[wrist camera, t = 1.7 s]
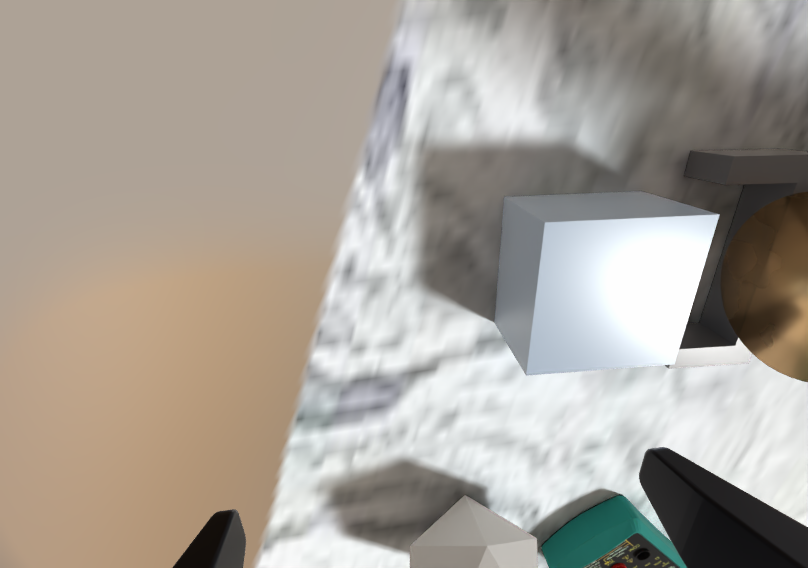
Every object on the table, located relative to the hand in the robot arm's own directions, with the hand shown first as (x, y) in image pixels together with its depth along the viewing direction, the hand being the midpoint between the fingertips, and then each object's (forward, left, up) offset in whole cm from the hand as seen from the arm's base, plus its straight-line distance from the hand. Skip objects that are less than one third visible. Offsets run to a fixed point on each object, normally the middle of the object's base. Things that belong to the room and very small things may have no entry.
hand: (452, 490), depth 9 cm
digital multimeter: (-18, +26, -14) cm, 35 cm away
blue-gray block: (-9, 0, -13) cm, 16 cm away
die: (-4, +20, -13) cm, 24 cm away
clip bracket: (-16, 0, -13) cm, 20 cm away
